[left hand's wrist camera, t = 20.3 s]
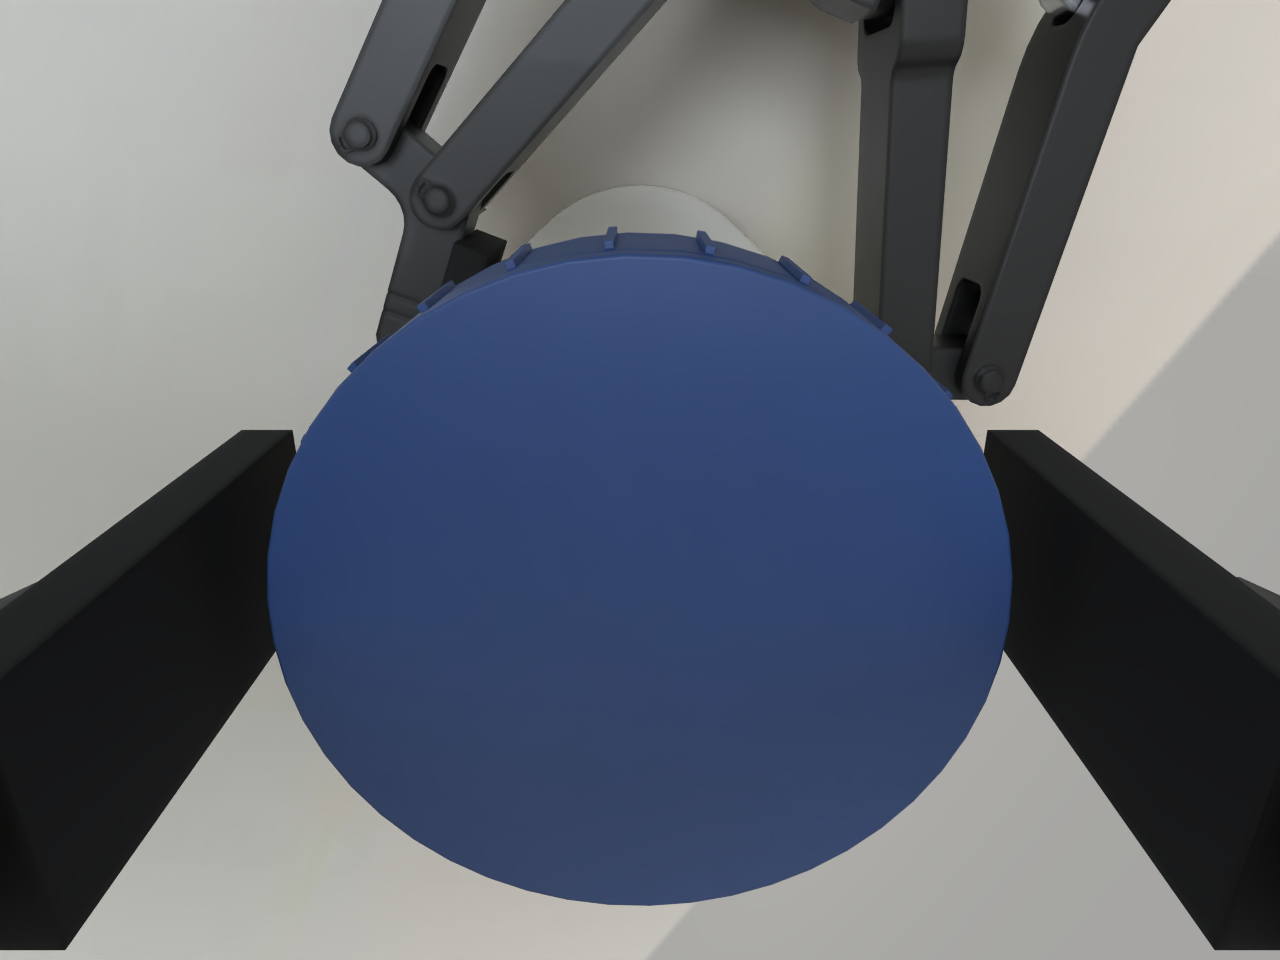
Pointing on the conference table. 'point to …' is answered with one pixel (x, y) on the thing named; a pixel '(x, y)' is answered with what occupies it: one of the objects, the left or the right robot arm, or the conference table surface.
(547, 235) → the jar
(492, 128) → the right robot arm
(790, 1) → the conference table surface
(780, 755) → the lid
